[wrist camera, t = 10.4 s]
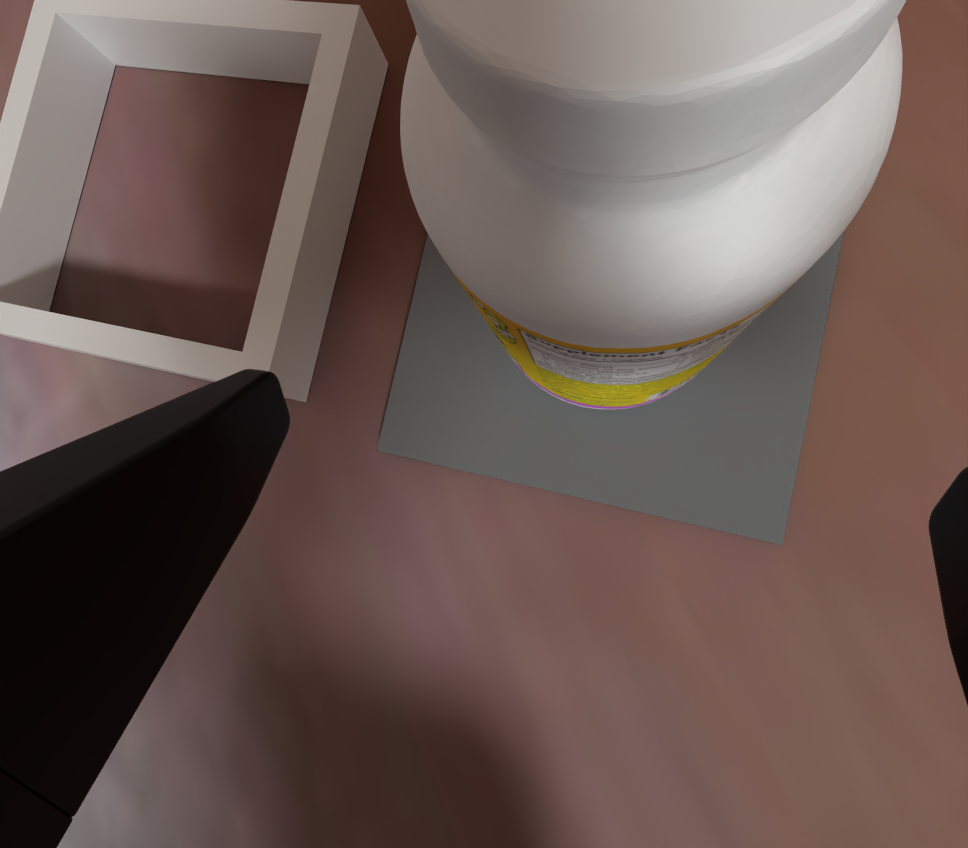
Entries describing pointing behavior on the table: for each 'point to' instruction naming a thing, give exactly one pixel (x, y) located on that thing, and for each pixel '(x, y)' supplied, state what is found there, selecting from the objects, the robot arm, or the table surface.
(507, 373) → the mat
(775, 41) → the supplement bottle
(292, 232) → the holder
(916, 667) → the table surface
